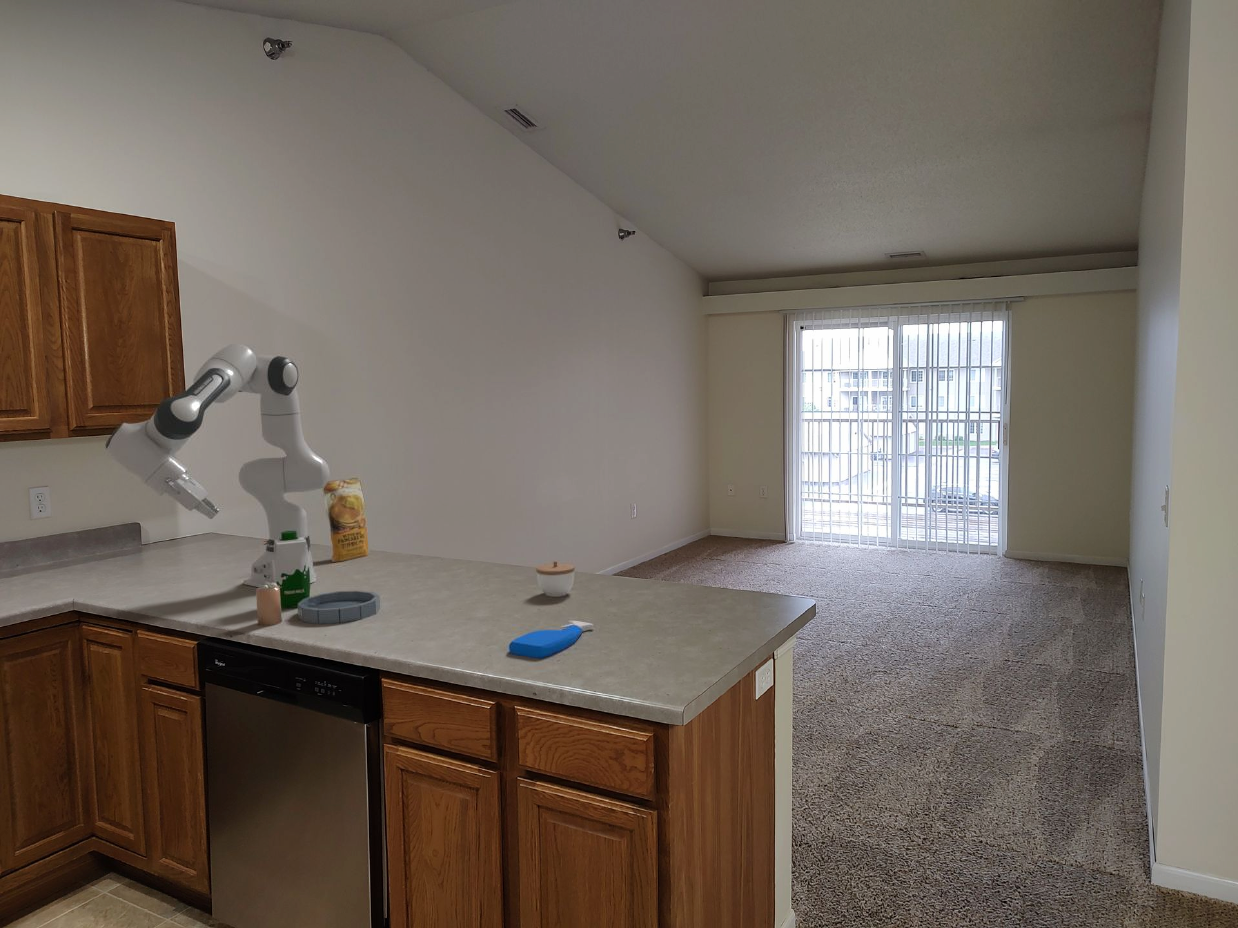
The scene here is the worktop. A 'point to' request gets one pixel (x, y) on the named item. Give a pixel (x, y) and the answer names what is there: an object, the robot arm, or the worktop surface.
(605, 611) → the worktop surface
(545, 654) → the spray bottle
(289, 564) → the milk carton
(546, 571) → the lidded jar
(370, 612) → the slate bowl
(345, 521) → the pancake mix bag
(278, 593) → the pebble cup
